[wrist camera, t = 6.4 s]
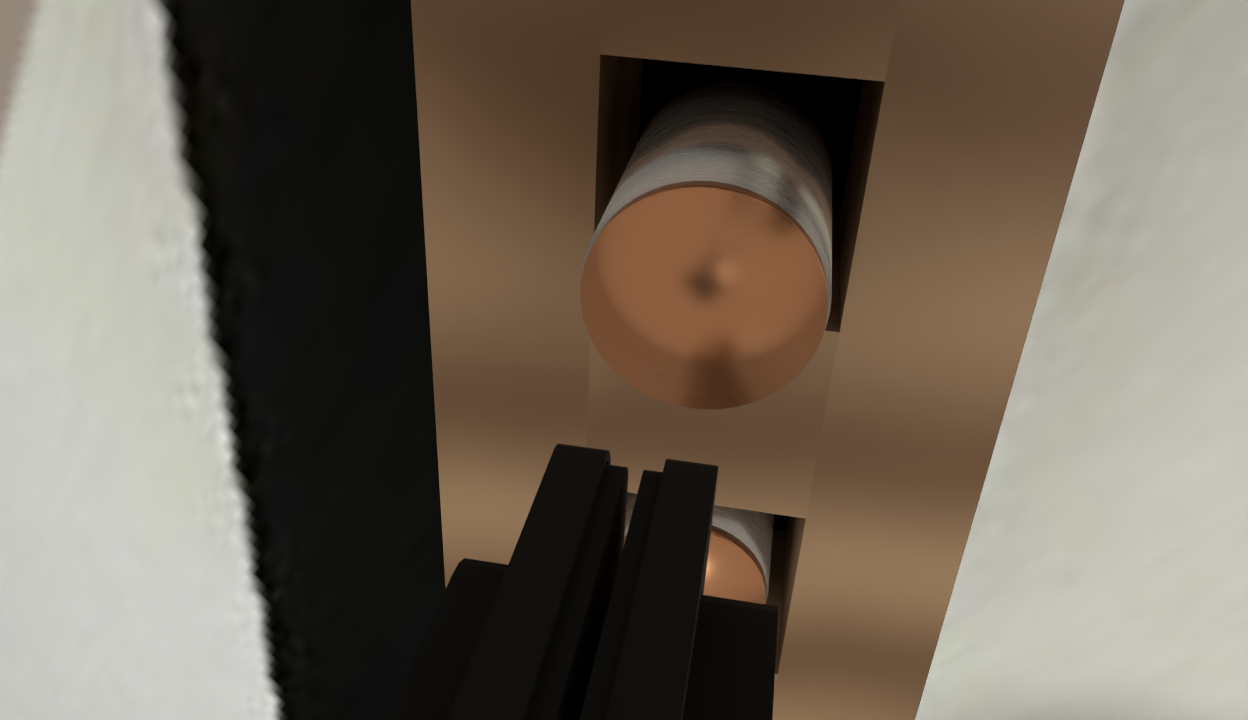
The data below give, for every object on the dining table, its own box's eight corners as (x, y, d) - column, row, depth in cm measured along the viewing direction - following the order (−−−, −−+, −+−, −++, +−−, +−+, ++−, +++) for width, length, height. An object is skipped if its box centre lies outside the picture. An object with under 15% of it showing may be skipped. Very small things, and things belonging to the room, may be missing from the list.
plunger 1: (637, 72, 18) (580, 171, 14) (847, 93, 17) (851, 201, 13) (627, 259, 20) (573, 394, 16) (816, 283, 19) (811, 427, 15)
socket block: (492, -197, 20) (400, -179, 16) (1087, -158, 19) (1160, -125, 14) (506, 574, 30) (452, 710, 26) (886, 635, 29) (894, 788, 25)
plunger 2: (641, 392, 26) (605, 514, 22) (787, 411, 25) (777, 540, 21) (634, 504, 28) (599, 636, 24) (769, 524, 27) (757, 662, 23)
